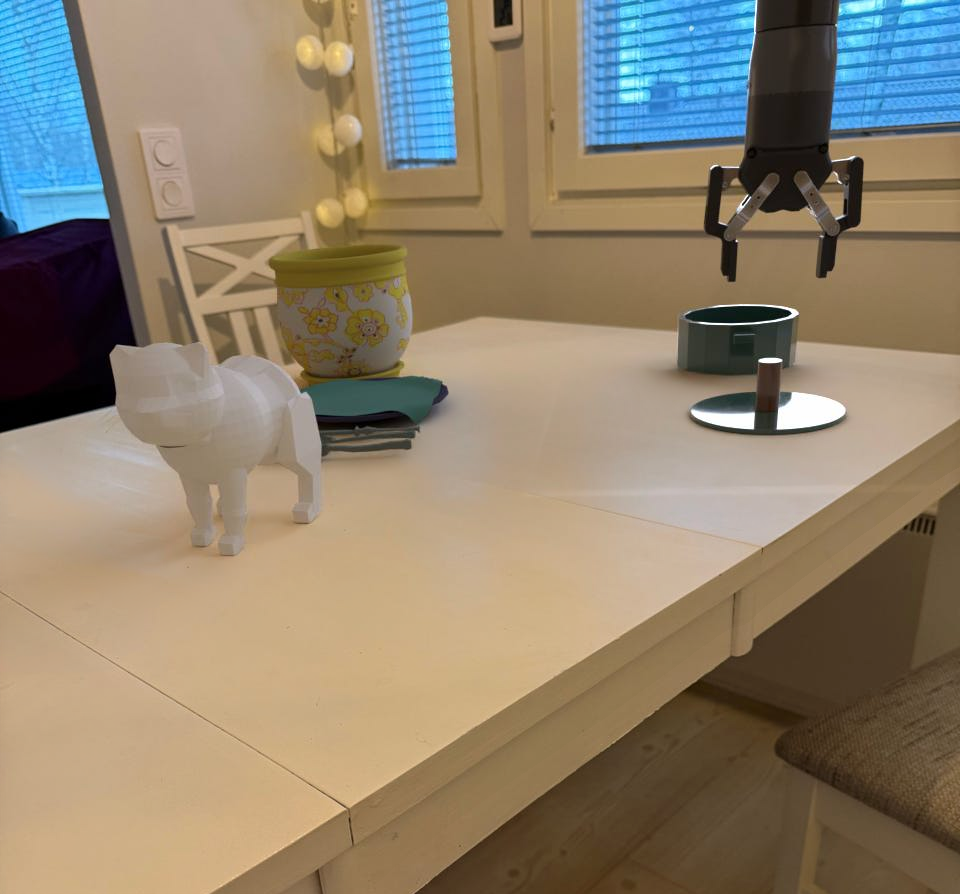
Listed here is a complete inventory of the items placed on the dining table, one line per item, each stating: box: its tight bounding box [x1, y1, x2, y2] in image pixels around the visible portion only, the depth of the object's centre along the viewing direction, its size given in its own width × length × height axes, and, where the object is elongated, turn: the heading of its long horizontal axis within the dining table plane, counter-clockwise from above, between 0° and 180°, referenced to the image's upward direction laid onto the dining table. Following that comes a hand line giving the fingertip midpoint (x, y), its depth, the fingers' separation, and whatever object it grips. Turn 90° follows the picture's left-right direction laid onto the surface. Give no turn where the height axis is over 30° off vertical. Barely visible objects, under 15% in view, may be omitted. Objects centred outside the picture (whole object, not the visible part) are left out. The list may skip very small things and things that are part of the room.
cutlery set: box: [299, 375, 449, 458], centre depth 109 cm, size 20×30×2 cm, turn 176°
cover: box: [689, 358, 847, 435], centre depth 98 cm, size 16×16×6 cm
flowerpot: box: [268, 243, 413, 386], centre depth 127 cm, size 18×18×16 cm
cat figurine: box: [98, 341, 323, 556], centre depth 77 cm, size 25×10×17 cm, turn 164°
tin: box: [676, 304, 800, 376], centre depth 121 cm, size 15×20×6 cm
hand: (775, 279), depth 93 cm, fingers open, 8 cm apart
